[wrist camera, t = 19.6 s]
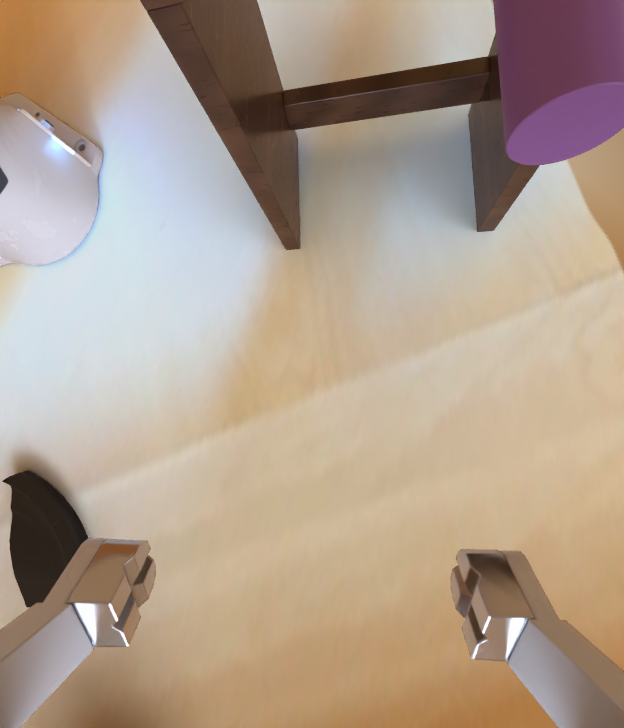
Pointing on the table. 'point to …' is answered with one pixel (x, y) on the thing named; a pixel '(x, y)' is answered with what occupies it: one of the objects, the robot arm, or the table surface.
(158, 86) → the table surface
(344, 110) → the bench
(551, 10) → the toy hammer
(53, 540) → the black flat piece
